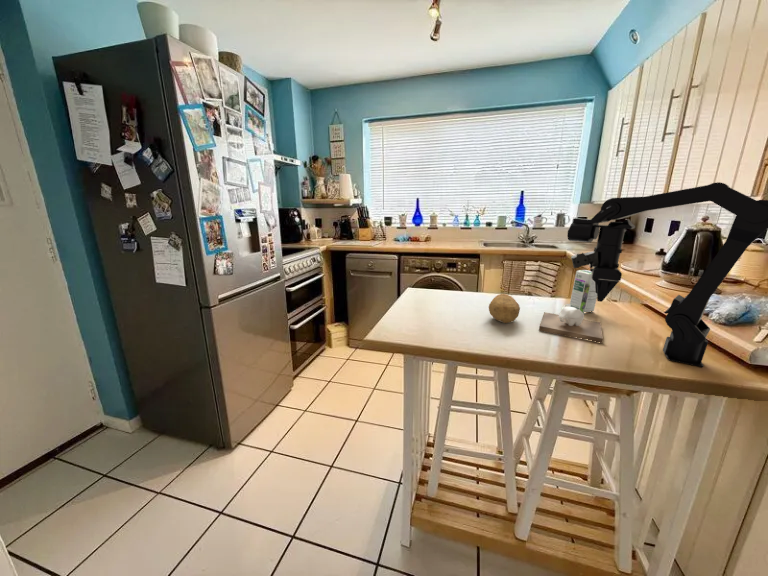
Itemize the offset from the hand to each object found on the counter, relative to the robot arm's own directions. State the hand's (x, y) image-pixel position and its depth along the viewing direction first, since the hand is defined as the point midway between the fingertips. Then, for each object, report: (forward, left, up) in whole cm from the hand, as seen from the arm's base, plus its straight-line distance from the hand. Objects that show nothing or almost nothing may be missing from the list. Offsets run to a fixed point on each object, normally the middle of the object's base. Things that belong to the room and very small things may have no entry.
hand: (598, 297), depth 90 cm
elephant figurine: (+6, +1, -10) cm, 11 cm away
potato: (+25, +6, -11) cm, 28 cm away
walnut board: (+6, +1, -11) cm, 12 cm away
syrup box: (+3, -20, -11) cm, 23 cm away
